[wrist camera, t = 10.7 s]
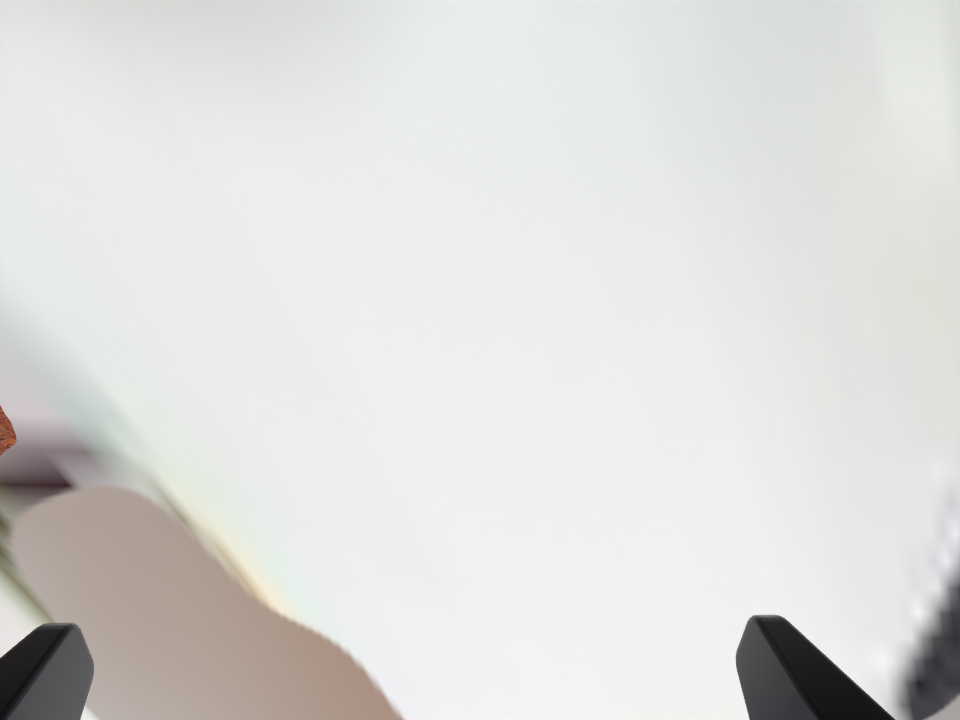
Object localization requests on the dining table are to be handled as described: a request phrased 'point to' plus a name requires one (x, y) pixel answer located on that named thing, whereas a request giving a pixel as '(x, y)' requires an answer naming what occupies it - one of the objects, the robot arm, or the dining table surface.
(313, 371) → the dining table surface
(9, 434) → the wooden tablet
